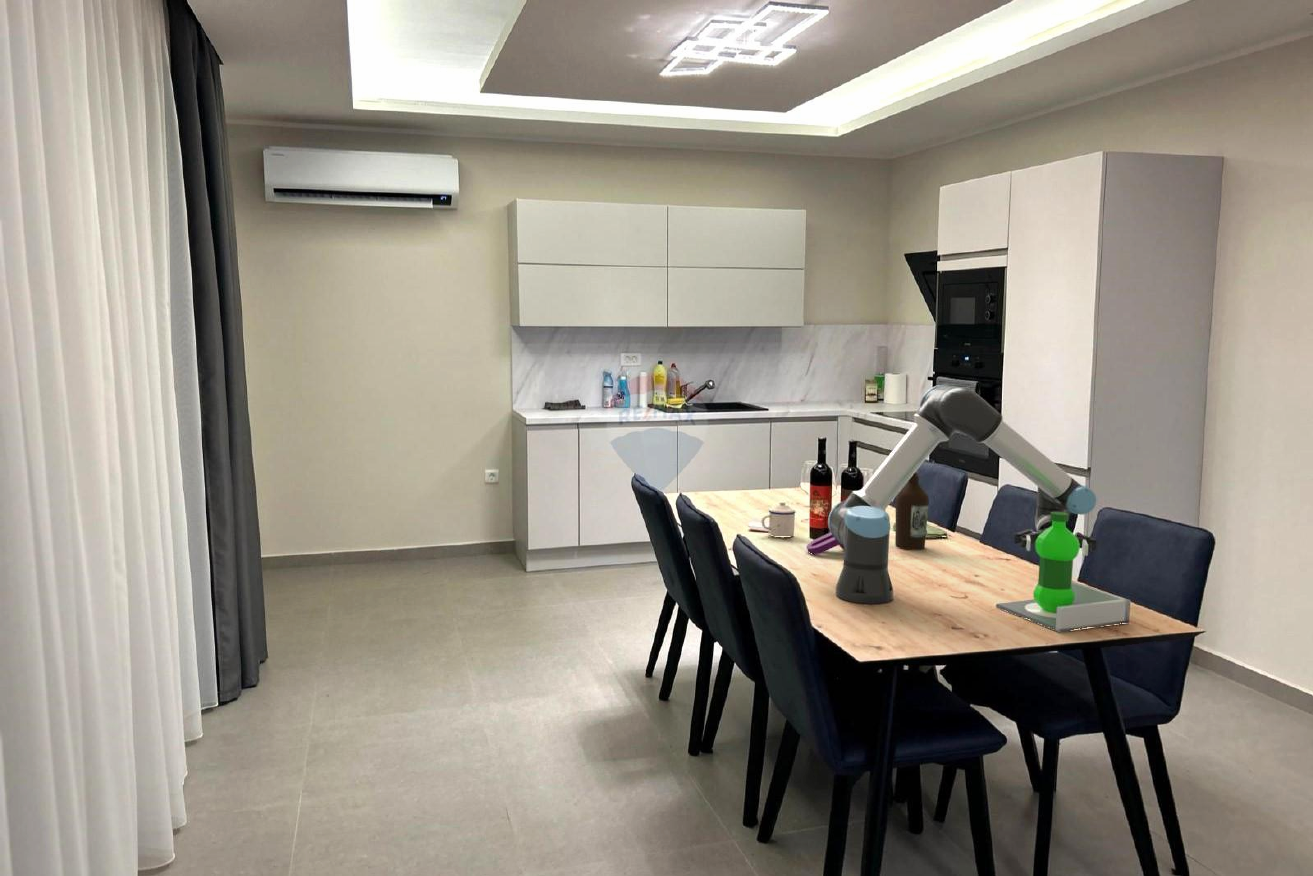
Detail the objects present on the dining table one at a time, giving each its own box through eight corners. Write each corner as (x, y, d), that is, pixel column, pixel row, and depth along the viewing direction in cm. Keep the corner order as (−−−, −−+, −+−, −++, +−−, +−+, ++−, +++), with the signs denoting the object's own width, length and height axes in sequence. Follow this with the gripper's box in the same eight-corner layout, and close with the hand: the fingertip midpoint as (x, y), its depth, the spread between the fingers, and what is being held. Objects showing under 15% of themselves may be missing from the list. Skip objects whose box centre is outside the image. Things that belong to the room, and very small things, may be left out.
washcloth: (917, 541, 331) (917, 532, 331) (889, 530, 348) (890, 521, 347) (950, 539, 335) (951, 530, 335) (922, 528, 352) (922, 520, 351)
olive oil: (886, 544, 323) (890, 470, 320) (911, 542, 328) (915, 468, 325) (908, 551, 314) (911, 475, 311) (933, 548, 319) (937, 473, 316)
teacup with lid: (787, 532, 340) (789, 499, 339) (799, 537, 331) (800, 504, 330) (756, 533, 336) (757, 500, 335) (766, 539, 328) (767, 505, 326)
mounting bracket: (820, 575, 306) (872, 551, 306) (809, 551, 305) (861, 527, 305) (814, 567, 316) (865, 544, 315) (804, 544, 315) (855, 521, 314)
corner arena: (1060, 633, 233) (1061, 608, 232) (996, 607, 253) (997, 585, 252) (1128, 623, 241) (1130, 600, 240) (1061, 599, 261) (1063, 578, 261)
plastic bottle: (1079, 617, 242) (1086, 518, 239) (1034, 614, 244) (1041, 515, 241) (1070, 605, 252) (1077, 510, 249) (1027, 602, 254) (1033, 508, 251)
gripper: (1100, 548, 265) (1109, 567, 245) (1003, 540, 273) (1004, 557, 253) (1102, 521, 264) (1112, 537, 244) (1004, 514, 272) (1006, 529, 252)
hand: (1057, 548), depth 248 cm, fingers open, 13 cm apart
